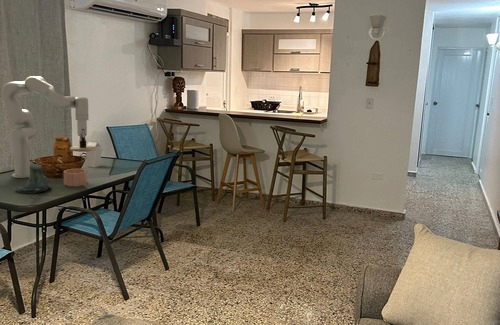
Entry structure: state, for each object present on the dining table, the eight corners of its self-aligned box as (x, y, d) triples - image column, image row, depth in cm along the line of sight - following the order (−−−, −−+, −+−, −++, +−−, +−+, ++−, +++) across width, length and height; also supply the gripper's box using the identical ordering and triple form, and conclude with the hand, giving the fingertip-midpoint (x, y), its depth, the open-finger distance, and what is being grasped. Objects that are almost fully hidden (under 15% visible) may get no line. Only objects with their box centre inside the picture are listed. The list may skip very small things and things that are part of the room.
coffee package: (66, 169, 305) (65, 138, 301) (52, 168, 309) (50, 137, 304) (76, 167, 314) (75, 136, 310) (62, 165, 318) (60, 135, 314)
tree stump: (42, 184, 267) (45, 157, 262) (56, 199, 255) (60, 171, 250) (10, 187, 254) (12, 159, 248) (23, 203, 242) (26, 174, 236)
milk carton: (95, 167, 315) (94, 141, 312) (86, 166, 317) (85, 140, 314) (101, 165, 322) (100, 140, 318) (93, 164, 324) (92, 139, 320)
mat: (82, 173, 298) (82, 172, 298) (107, 171, 305) (107, 171, 305) (84, 178, 284) (84, 177, 284) (110, 177, 291) (110, 176, 290)
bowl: (63, 181, 274) (63, 169, 272) (85, 180, 279) (85, 168, 278) (64, 186, 262) (64, 173, 261) (87, 185, 268) (87, 172, 266)
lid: (69, 147, 279) (69, 138, 278) (94, 147, 286) (93, 137, 285) (71, 152, 266) (70, 141, 265) (97, 151, 273) (96, 141, 271)
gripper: (74, 115, 278) (75, 144, 281) (76, 118, 263) (77, 149, 267) (86, 115, 281) (87, 144, 285) (90, 118, 266) (90, 148, 270)
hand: (82, 146), depth 276 cm, fingers closed on lid, 4 cm apart
